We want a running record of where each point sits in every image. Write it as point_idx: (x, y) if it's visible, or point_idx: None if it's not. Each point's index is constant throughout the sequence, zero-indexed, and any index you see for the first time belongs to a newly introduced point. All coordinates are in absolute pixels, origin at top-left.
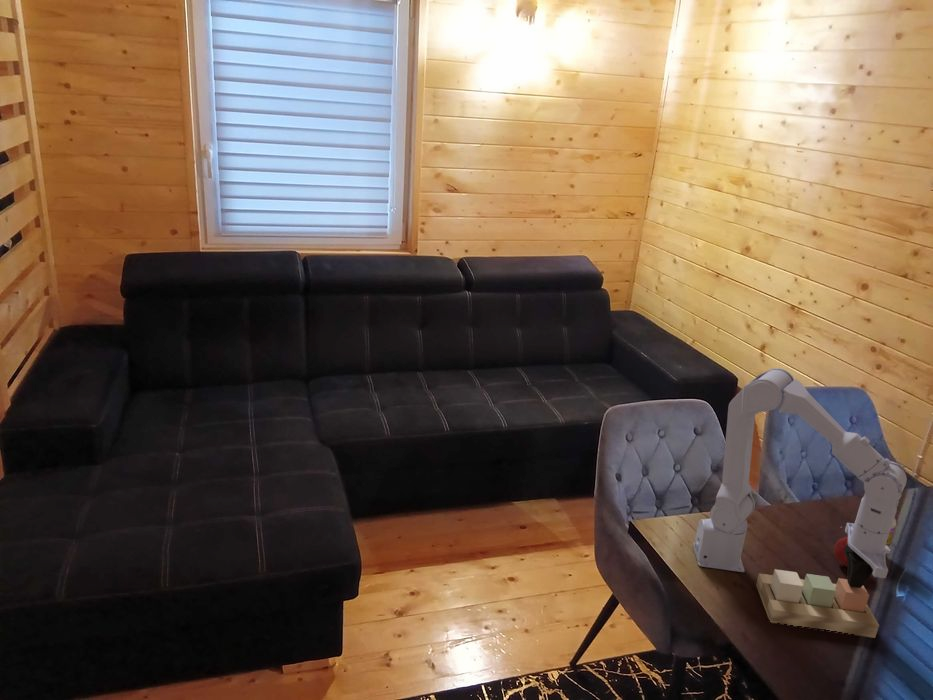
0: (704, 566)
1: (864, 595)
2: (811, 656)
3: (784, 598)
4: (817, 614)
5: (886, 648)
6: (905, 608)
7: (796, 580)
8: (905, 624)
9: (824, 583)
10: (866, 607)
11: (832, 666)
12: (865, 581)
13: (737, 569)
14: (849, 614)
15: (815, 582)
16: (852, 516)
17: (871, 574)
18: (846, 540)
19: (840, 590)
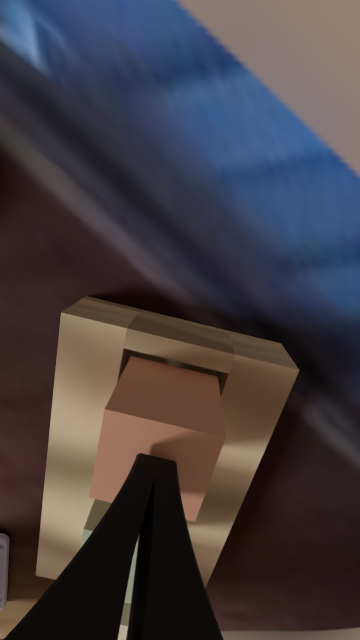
0: (6, 600)
1: (218, 452)
2: (315, 537)
3: None
4: (221, 529)
5: (330, 335)
6: (126, 83)
7: (121, 635)
8: (225, 166)
9: (134, 565)
10: (194, 354)
11: (356, 513)
12: (182, 506)
13: (3, 551)
14: (229, 439)
15: (129, 589)
16: None
17: (209, 602)
18: None
19: None
